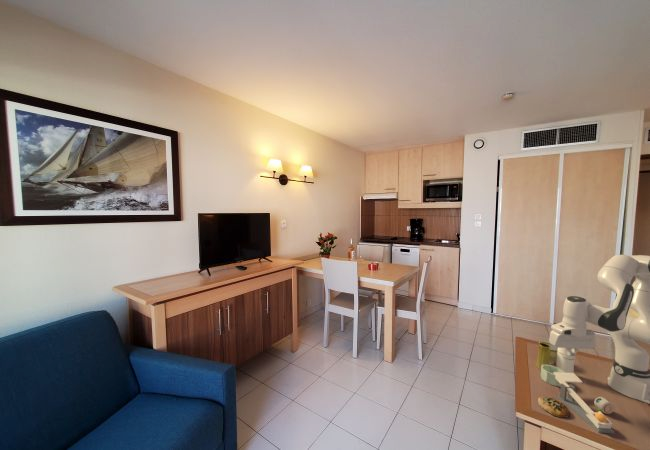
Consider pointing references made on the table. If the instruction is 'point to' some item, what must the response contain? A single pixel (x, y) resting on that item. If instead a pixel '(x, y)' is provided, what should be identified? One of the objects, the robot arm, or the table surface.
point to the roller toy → (604, 405)
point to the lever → (572, 378)
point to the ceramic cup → (552, 352)
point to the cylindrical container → (565, 361)
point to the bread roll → (553, 406)
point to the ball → (601, 417)
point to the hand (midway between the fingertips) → (571, 355)
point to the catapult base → (577, 407)
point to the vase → (543, 355)
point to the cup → (550, 374)
